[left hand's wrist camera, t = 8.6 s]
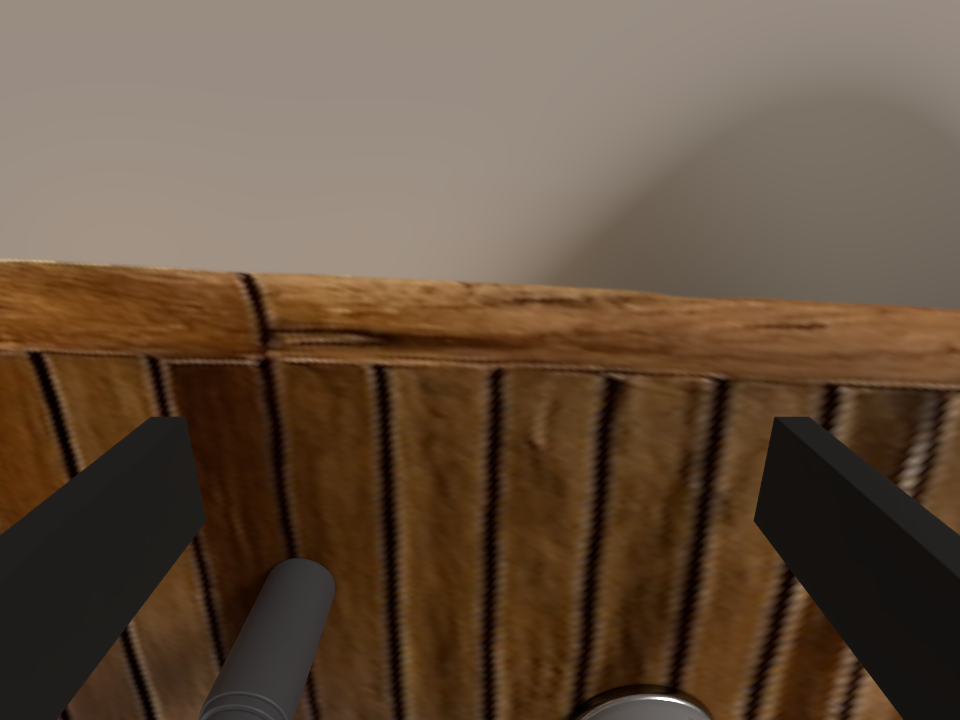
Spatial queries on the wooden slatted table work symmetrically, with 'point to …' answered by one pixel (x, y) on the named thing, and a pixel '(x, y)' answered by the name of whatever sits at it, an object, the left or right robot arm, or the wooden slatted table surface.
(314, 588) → the bottle
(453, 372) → the wooden slatted table surface
